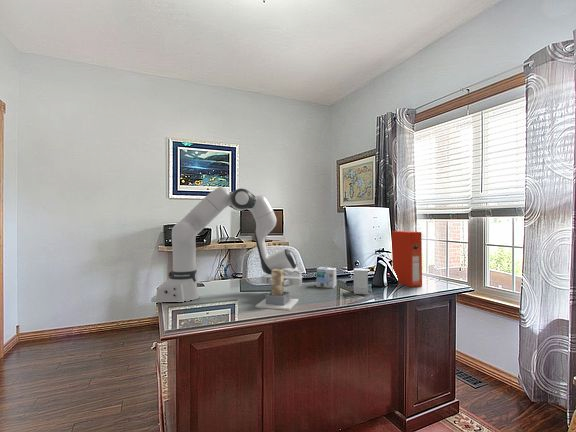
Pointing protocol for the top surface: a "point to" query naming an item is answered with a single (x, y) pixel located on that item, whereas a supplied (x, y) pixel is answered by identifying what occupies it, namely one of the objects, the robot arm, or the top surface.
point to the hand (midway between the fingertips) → (277, 283)
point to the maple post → (277, 282)
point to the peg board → (277, 302)
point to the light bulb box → (326, 277)
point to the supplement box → (360, 281)
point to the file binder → (407, 257)
